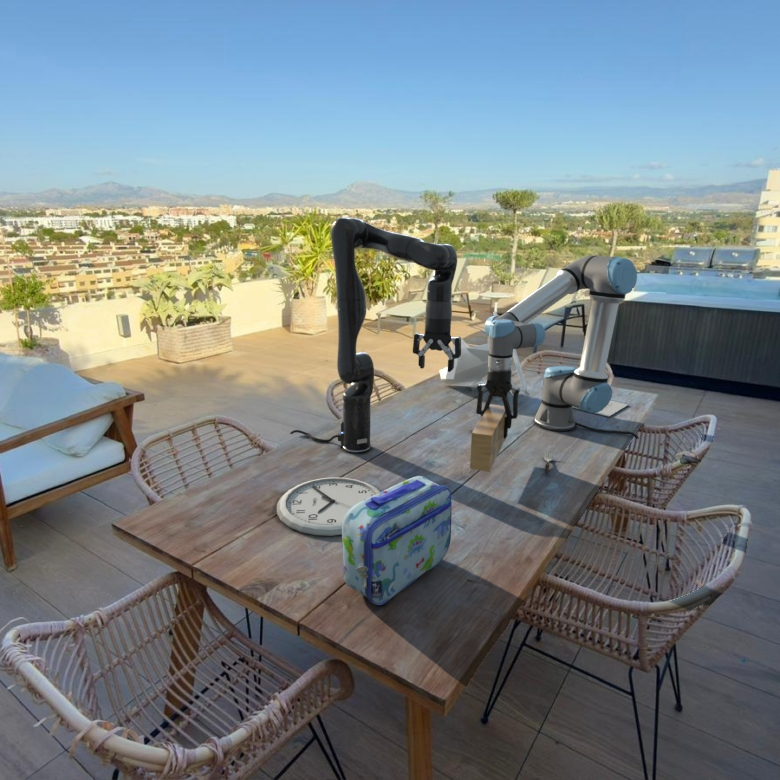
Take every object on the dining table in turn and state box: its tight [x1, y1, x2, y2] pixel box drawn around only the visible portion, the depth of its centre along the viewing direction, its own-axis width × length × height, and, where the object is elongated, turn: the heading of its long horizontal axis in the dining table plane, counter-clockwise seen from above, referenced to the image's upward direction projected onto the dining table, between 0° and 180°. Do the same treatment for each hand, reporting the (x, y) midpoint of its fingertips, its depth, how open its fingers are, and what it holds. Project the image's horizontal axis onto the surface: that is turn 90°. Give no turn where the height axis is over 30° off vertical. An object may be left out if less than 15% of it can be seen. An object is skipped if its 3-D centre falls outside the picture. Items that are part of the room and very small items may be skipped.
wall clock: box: [276, 476, 382, 537], centre depth 142 cm, size 30×2×30 cm
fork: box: [544, 449, 554, 474], centre depth 169 cm, size 3×16×2 cm, turn 160°
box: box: [469, 403, 507, 473], centre depth 164 cm, size 27×6×12 cm, turn 158°
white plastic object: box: [438, 310, 531, 397], centre depth 245 cm, size 37×45×31 cm
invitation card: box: [573, 400, 629, 418], centre depth 226 cm, size 21×1×15 cm
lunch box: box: [341, 475, 453, 606], centre depth 111 cm, size 26×11×21 cm, turn 134°
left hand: (435, 369), depth 156 cm, fingers open, 8 cm apart
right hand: (495, 435), depth 174 cm, fingers closed on box, 6 cm apart
